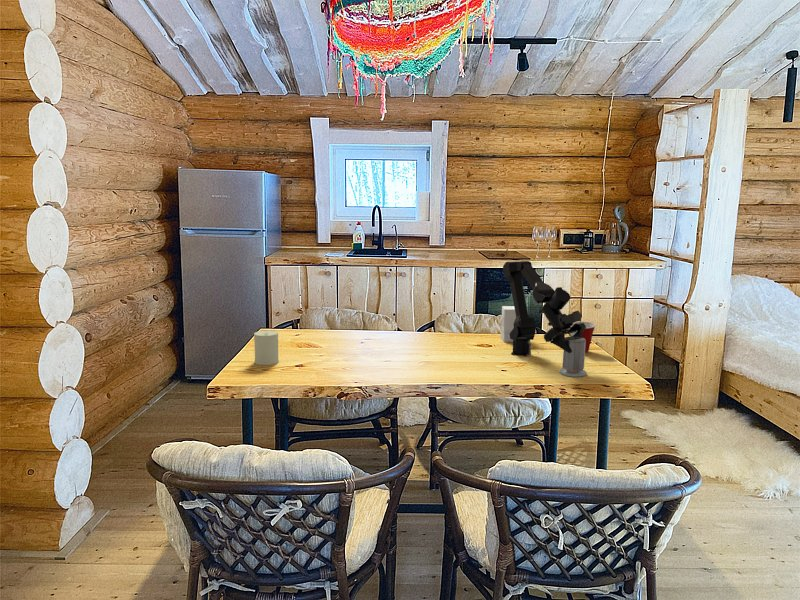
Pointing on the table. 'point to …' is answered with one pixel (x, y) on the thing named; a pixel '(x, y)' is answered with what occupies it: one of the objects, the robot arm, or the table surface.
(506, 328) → the supplement box
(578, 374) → the bowl saucer
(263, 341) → the can
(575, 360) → the grey flanged cylinder
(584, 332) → the plastic cup
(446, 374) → the table surface
